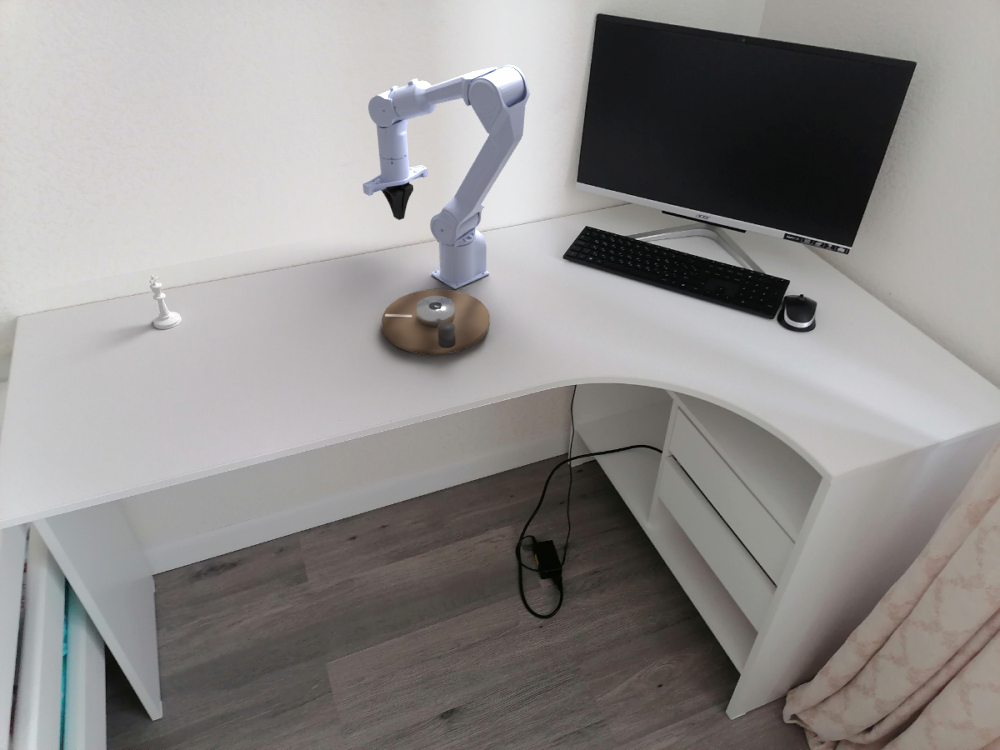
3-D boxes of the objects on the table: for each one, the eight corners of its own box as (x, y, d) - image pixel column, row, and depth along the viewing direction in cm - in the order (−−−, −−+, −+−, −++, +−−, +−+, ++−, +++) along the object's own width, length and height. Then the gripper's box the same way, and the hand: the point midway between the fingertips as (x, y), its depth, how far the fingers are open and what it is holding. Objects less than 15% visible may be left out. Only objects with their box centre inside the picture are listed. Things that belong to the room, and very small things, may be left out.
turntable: (492, 296, 144) (492, 275, 141) (486, 356, 128) (486, 334, 126) (392, 292, 145) (390, 271, 142) (373, 352, 129) (370, 330, 126)
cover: (456, 308, 138) (456, 296, 137) (452, 328, 133) (451, 317, 131) (420, 306, 139) (419, 294, 137) (414, 327, 133) (413, 315, 132)
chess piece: (147, 325, 137) (131, 279, 131) (166, 312, 140) (151, 266, 134) (168, 331, 135) (153, 285, 129) (187, 317, 139) (173, 272, 133)
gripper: (411, 139, 150) (415, 201, 158) (351, 157, 142) (358, 221, 151) (432, 149, 146) (435, 212, 154) (371, 168, 138) (378, 233, 147)
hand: (398, 217), depth 152 cm, fingers closed
